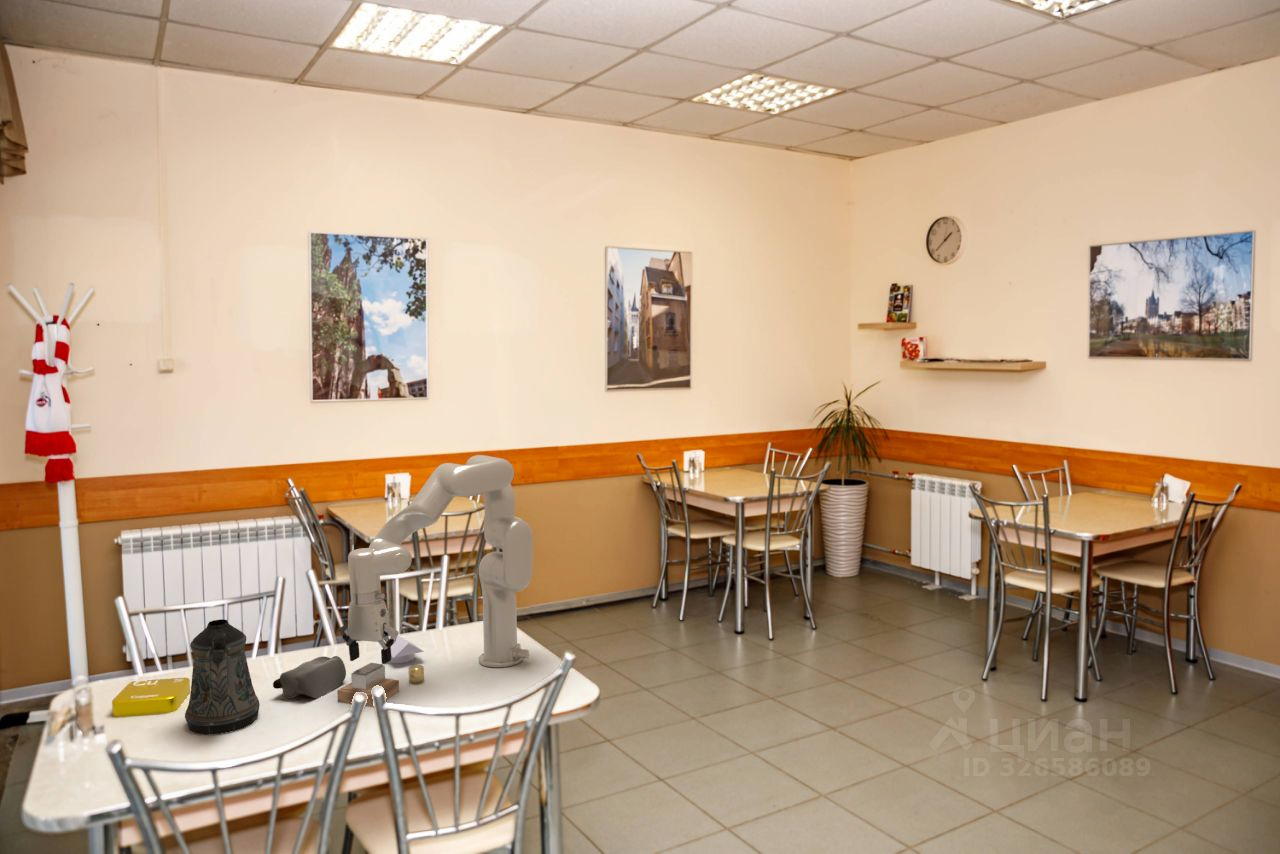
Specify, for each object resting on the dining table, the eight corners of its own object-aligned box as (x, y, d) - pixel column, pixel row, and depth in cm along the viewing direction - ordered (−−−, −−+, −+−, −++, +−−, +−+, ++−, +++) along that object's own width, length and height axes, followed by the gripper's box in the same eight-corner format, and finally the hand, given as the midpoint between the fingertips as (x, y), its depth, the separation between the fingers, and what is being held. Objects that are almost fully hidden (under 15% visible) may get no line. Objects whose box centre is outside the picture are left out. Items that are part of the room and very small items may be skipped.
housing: (366, 690, 235) (365, 674, 235) (351, 688, 237) (351, 672, 237) (385, 680, 243) (384, 663, 242) (371, 678, 244) (370, 662, 244)
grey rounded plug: (319, 675, 256) (318, 648, 255) (352, 680, 252) (351, 652, 251) (271, 699, 239) (269, 670, 238) (306, 705, 235) (305, 675, 234)
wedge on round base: (424, 662, 266) (408, 650, 276) (423, 640, 265) (407, 628, 276) (394, 669, 260) (378, 656, 271) (393, 646, 260) (377, 634, 271)
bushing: (427, 680, 252) (426, 665, 251) (419, 685, 248) (418, 670, 248) (414, 678, 253) (413, 664, 253) (406, 683, 249) (405, 669, 249)
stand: (399, 691, 244) (398, 679, 243) (374, 706, 233) (373, 694, 233) (363, 686, 247) (363, 674, 247) (337, 701, 237) (337, 689, 237)
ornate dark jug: (239, 703, 237) (234, 607, 235) (279, 722, 224) (274, 621, 222) (173, 723, 224) (167, 623, 222) (211, 745, 212) (206, 638, 210)
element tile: (110, 719, 228) (108, 700, 228) (131, 696, 243) (130, 679, 242) (175, 714, 231) (174, 695, 231) (192, 692, 246) (191, 674, 245)
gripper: (403, 594, 239) (407, 658, 241) (346, 590, 244) (351, 653, 246) (386, 603, 232) (390, 669, 234) (328, 598, 237) (333, 663, 239)
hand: (370, 660), depth 240 cm, fingers open, 9 cm apart
